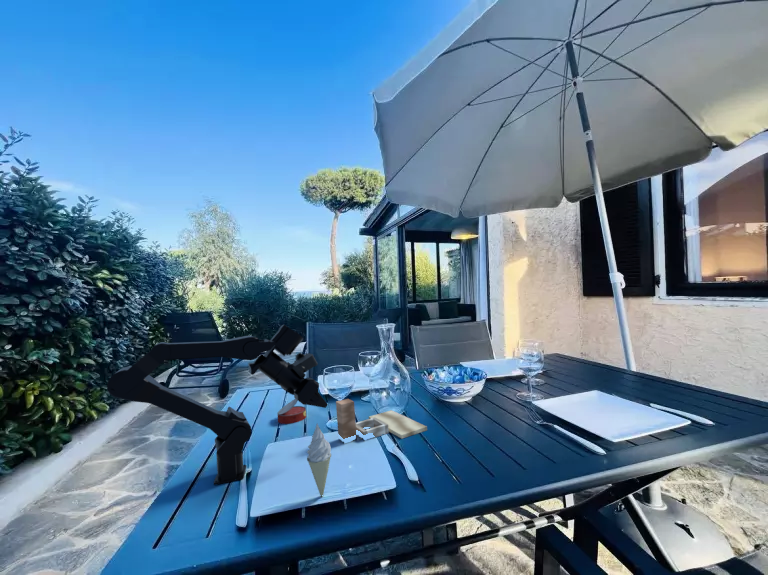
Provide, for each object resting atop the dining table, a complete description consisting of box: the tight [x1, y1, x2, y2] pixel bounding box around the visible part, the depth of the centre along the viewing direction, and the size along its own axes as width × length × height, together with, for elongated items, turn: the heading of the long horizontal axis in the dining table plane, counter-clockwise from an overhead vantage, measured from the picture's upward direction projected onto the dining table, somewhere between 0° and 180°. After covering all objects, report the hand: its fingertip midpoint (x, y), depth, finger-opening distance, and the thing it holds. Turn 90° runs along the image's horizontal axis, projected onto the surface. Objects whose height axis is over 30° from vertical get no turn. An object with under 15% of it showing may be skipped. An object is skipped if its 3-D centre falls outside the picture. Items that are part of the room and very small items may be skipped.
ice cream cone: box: [306, 423, 332, 497], centre depth 69 cm, size 5×5×15 cm
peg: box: [335, 398, 357, 439], centre depth 96 cm, size 4×4×11 cm
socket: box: [356, 409, 428, 440], centre depth 102 cm, size 18×20×2 cm
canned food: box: [276, 398, 307, 425], centre depth 117 cm, size 11×10×10 cm
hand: (320, 402), depth 92 cm, fingers open, 9 cm apart
